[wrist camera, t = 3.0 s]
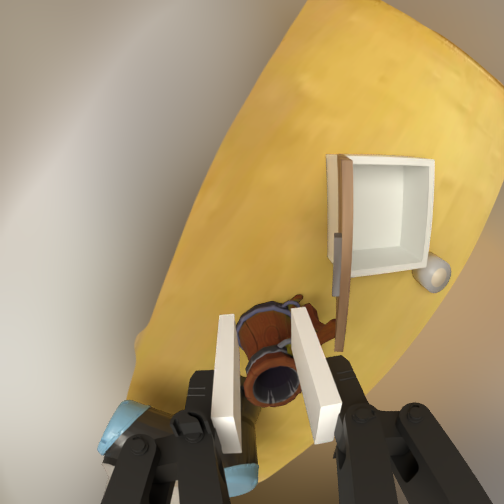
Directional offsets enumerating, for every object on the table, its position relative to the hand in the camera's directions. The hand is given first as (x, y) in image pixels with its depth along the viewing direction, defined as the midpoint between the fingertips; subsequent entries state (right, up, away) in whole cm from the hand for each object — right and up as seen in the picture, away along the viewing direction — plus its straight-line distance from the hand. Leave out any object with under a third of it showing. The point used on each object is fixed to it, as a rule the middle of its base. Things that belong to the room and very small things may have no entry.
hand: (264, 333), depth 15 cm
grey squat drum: (+32, +2, +31) cm, 45 cm away
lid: (+9, +6, +13) cm, 16 cm away
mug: (+4, -6, +33) cm, 34 cm away
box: (+18, +12, +27) cm, 34 cm away
